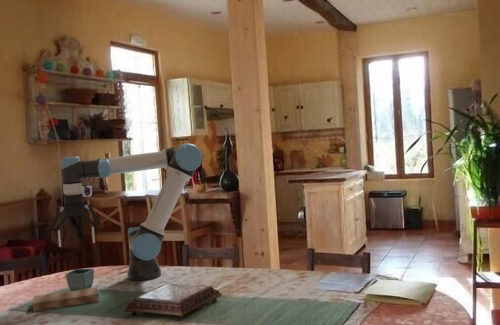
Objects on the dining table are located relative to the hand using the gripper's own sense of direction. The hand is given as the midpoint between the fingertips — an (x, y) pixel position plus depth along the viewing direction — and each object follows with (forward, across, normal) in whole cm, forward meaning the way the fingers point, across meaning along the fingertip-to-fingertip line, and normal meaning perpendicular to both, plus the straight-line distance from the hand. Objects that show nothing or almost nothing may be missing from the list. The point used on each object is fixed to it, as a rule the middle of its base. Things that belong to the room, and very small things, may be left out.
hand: (77, 244), depth 236 cm
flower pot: (+20, 0, 0) cm, 21 cm away
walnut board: (+20, +6, +14) cm, 25 cm away
